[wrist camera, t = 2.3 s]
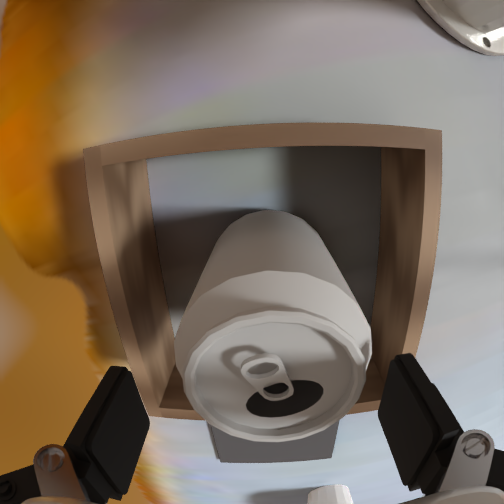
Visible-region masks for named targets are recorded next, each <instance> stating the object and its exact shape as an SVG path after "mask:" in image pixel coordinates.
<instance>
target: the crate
mask: <svg viewBox="0 0 504 504" xmlns="http://www.w3.org/2000/svg"><path fill="white" fill-rule="evenodd" d="M282 146H376V147H381V217H380V237H379V252H378V265H377V276H376V286H375V295H374V304H373V312H372V320H371V327H370V328H371V342H372V355H371V358H370V361H369V364H368V367H367V370H366V381H365V384H364V387H363V389H362V392H361V395H360V397H359V400H358V401H357V402H356V403H355V404H354V406H353V407H352V408H351V409H350V410H349V411H348V413H347V414H354V413H361V412H368V411H374V410H378V409H379V405H380V401H381V398H382V394H383V390H384V386H385V382H386V378H387V373H388V369H389V365H390V361H391V360H393V359H394V358H395V356H396V355H400V354H405V353H412V354H413V356H414V357H415V356H416V353H417V349H418V345H419V341H420V337H421V333H422V328H423V324H424V320H425V315H426V310H427V305H428V300H429V295H430V289H431V283H432V277H433V271H434V264H435V257H436V249H437V240H438V231H439V220H440V207H441V188H442V130H434V129H426V128H416V127H406V126H393V125H379V124H359V123H276V124H256V125H241V126H228V127H217V128H207V129H198V130H189V131H181V132H174V133H166V134H160V135H153V136H147V137H141V138H135V139H130V140H124V141H119V142H114V143H109V144H104V145H99V146H94V147H90V148H86V149H83V154H84V164H85V173H86V181H87V189H88V196H89V203H90V209H91V215H92V221H93V227H94V232H95V238H96V243H97V248H98V253H99V257H100V262H101V266H102V271H103V275H104V279H105V283H106V287H107V291H108V295H109V299H110V303H111V307H112V310H113V314H114V317H115V321H116V324H117V328H118V331H119V334H120V337H121V341H122V344H123V347H124V350H125V353H126V356H127V359H128V362H129V365H130V368H131V371H132V373H133V376H134V379H135V382H136V384H137V387H138V390H139V392H140V395H141V397H142V400H143V402H144V405H145V407H146V410H147V412H148V415H149V416H155V417H165V418H176V419H190V420H205V419H203V418H202V417H201V416H200V415H199V414H198V413H197V412H196V411H195V410H194V409H193V407H192V405H191V404H190V402H189V400H188V398H187V396H186V394H185V392H184V387H183V379H182V377H181V375H180V373H179V371H178V369H177V367H176V360H175V348H174V340H175V338H174V333H173V329H172V324H171V319H170V314H169V310H168V305H167V299H166V294H165V289H164V284H163V278H162V273H161V267H160V261H159V255H158V249H157V242H156V236H155V229H154V222H153V215H152V207H151V199H150V191H149V182H148V173H147V163H146V159H148V158H155V157H163V156H170V155H179V154H187V153H197V152H207V151H218V150H230V149H244V148H260V147H282ZM347 414H346V415H347Z"/></svg>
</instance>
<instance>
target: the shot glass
mask: <svg viewBox="0 0 504 504" xmlns="http://www.w3.org/2000/svg"><path fill="white" fill-rule="evenodd" d="M308 504H353V501H352V498H351V495H350V491H349V488H348V487H347V486H344V485H327V486H323V487H319V488H317V489H315V490H312V491H311V492H310V493H309V494H308Z"/></svg>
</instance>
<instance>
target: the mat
mask: <svg viewBox="0 0 504 504" xmlns="http://www.w3.org/2000/svg"><path fill="white" fill-rule="evenodd" d="M338 425H339V420H338V421H337V422H335V423H334V424H332V425H331V426H329V427H328V428H326V429H325V430H323V431H320V432H318V433H315V434H313V435H310V436H307V437H305V438H302V439H296V440H290V441H283V442H259V441H251V440H247V439H243V438H239V437H235V436H231V435H229V434H227V433H225V432H224V431H222V430H220V429H218V428H216V427H214V426H212V425H211V428H212V432H213V436H214V439H215V443H216V447H217V451H218V454H219V458H220V462H228V463H273V462H293V461H307V460H318V459H327V458H331V457H332V452H333V448H334V444H335V439H336V434H337V430H338Z"/></svg>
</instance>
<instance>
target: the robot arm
mask: <svg viewBox="0 0 504 504" xmlns="http://www.w3.org/2000/svg"><path fill="white" fill-rule="evenodd" d="M417 1H418V2H419V3H420V5H421V6H422V7H423V9H424V10H425V11H426V12H427V13H428V14H429V15H430V16H431V17H432V18H433V19H434V20H435V22H436V23H437V24H439V25H440V26H441V27H442V28H443V29H444V30H445V31H446V32H448V33H449V34H450V35H451V36H453V37H454V38H455V39H457V40H458V41H459V42H461V43H462V44H464V45H466V46H468V47H469V48H471V49H473V50H475V51H477V52H480V53H482V54H485V55H491V56H502V55H504V0H417ZM378 418H379V421H380V423H381V426H382V428H383V431H384V434H385V436H386V439H387V442H388V444H389V447H390V450H391V452H392V455H393V458H394V461H395V463H396V466H397V469H398V472H399V475H400V477H401V480H402V483H403V485H405V486H406V485H408V488H409V491H413V490H417V489H420V488H421V491H422V493H423V496H422V497H421V498H417V499H414V500H410V501H407V502H403V503H400V504H504V451H501V450H498V449H494V442H493V439H492V438H491V436H490V435H489V434H487V433H486V432H484V431H481V430H475V429H474V430H468V431H466V432H464V431H463V430H462V428H461V426H460V425H459V423H458V421H457V420H456V418H455V416H454V415H453V413H452V411H451V410H450V408H449V406H448V405H447V403H446V402H445V400H444V398H443V397H442V395H441V394H440V392H439V391H438V389H437V387H436V386H435V385H434V384H433V383H431V382H430V380H429V379H428V377H427V376H426V374H425V373H424V371H423V369H422V368H421V366H420V365H419V363H418V362H417V360H416V359H415V357H414V356H413V354H412V353H405V354H400V355H396V356H395V358H394V359H393V360H391V361H390V365H389V369H388V373H387V378H386V382H385V386H384V390H383V394H382V398H381V401H380V405H379V409H378ZM149 426H150V421H149V418H148V415H147V413H146V410H145V407H144V405H143V402H142V400H141V397H140V394H139V391H138V389H137V386H136V383H135V380H134V377H133V375H132V372H131V371H128V369H127V368H126V367H120V366H110V368H109V369H108V371H107V372H106V374H105V376H104V377H103V379H102V380H101V382H100V384H99V385H98V387H97V389H96V390H95V392H94V394H93V396H92V397H91V399H90V400H89V402H88V404H87V405H86V407H85V409H84V410H83V412H82V414H81V416H80V417H79V419H78V421H77V422H76V424H75V426H74V428H73V430H72V431H71V433H70V435H69V437H68V438H67V440H66V442H65V444H64V446H63V447H62V446H60V445H56V444H50V445H46V446H44V447H42V448H40V449H39V450H38V451H37V453H36V454H35V456H34V459H33V463H34V464H33V465H30V466H28V467H25V468H22V469H19V470H16V471H13V472H10V473H7V474H4V475H1V476H0V504H107V502H108V499H109V498H112V499H116V500H120V501H121V499H122V495H123V494H124V495H125V494H126V493H127V492H128V488H129V486H130V483H131V480H132V477H133V474H134V471H135V468H136V465H137V462H138V459H139V456H140V453H141V450H142V447H143V444H144V441H145V438H146V435H147V433H148V430H149Z"/></svg>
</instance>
